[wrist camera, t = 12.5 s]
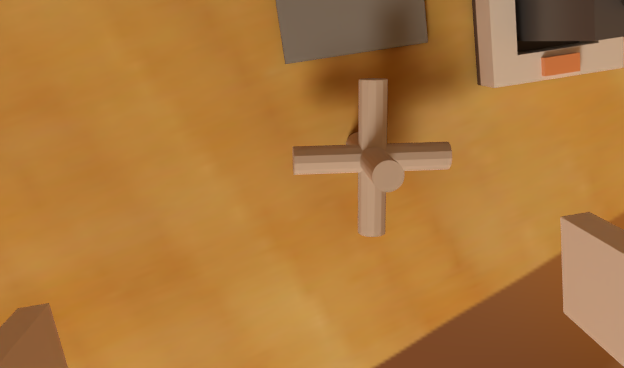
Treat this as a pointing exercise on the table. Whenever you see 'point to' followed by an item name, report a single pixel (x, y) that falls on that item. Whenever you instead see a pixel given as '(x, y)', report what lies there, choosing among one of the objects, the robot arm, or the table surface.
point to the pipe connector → (372, 157)
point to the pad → (348, 26)
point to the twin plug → (569, 20)
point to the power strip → (532, 50)
